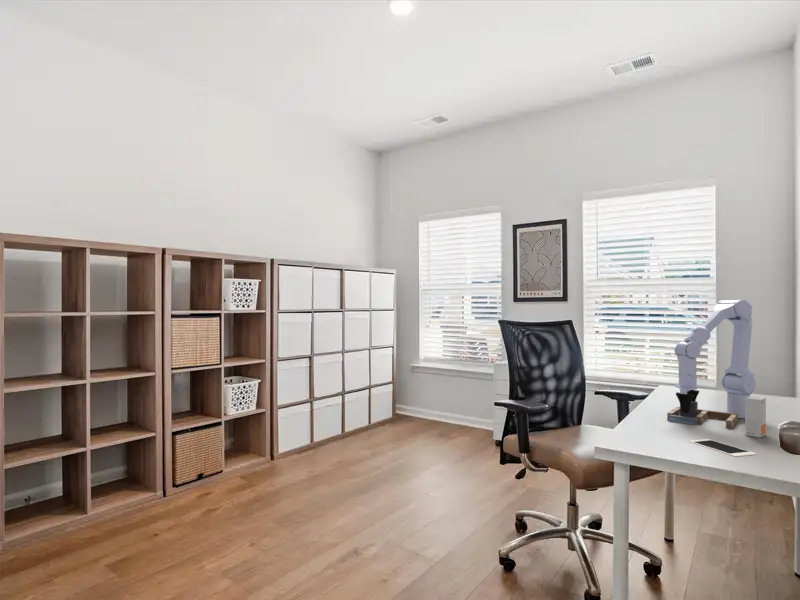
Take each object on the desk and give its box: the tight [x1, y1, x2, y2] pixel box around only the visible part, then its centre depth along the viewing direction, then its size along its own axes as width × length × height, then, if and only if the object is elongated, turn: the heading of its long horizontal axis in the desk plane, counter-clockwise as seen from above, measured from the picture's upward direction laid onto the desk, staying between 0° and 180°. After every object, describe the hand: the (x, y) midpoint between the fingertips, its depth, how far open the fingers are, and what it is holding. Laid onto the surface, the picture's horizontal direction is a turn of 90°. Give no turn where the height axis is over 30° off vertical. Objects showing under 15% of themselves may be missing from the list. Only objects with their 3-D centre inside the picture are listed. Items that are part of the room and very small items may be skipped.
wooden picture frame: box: [666, 406, 739, 429], centre depth 177 cm, size 17×20×2 cm
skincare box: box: [744, 395, 767, 438], centre depth 157 cm, size 6×4×12 cm
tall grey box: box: [679, 400, 699, 418], centre depth 180 cm, size 4×5×6 cm
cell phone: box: [688, 438, 758, 458], centre depth 143 cm, size 8×16×1 cm, turn 14°
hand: (687, 411), depth 180 cm, fingers open, 7 cm apart
